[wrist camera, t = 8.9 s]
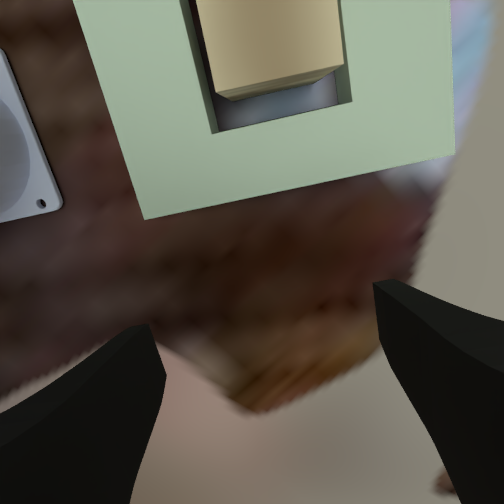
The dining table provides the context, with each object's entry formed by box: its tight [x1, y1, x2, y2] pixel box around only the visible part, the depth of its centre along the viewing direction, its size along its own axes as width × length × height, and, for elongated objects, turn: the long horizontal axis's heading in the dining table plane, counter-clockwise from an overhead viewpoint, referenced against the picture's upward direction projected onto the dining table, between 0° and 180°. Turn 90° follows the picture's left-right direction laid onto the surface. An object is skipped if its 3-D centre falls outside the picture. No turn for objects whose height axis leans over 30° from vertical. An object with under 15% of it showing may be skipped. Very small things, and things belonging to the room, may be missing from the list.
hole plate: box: [73, 0, 455, 220], centre depth 16 cm, size 14×12×3 cm
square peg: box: [196, 0, 344, 101], centre depth 14 cm, size 4×4×7 cm
